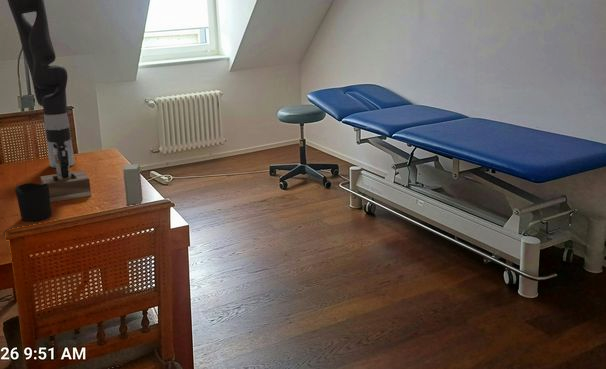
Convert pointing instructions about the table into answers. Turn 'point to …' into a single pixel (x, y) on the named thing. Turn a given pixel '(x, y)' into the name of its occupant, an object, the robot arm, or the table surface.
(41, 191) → the pen holder
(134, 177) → the skincare box
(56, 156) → the sprinkles bottle
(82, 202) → the table surface
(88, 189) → the socket block
